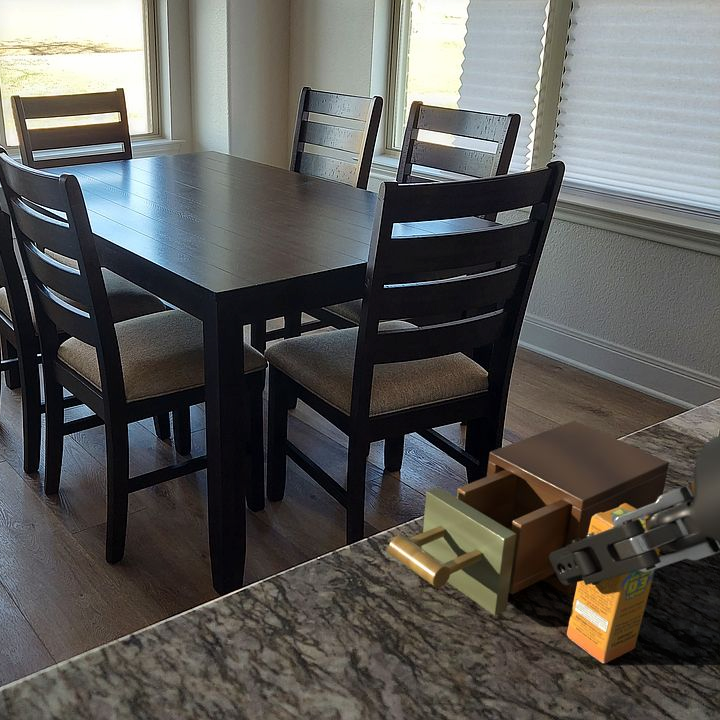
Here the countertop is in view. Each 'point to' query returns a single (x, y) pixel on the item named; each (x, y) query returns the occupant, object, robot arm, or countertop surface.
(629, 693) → the countertop surface
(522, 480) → the drawer
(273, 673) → the countertop surface
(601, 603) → the supplement box
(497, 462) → the cabinet
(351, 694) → the countertop surface
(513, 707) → the countertop surface
